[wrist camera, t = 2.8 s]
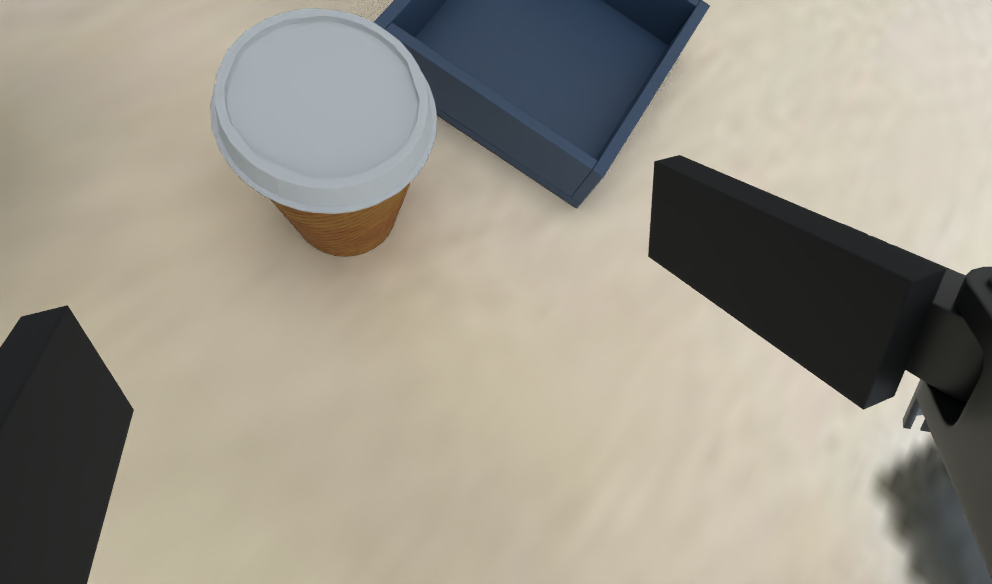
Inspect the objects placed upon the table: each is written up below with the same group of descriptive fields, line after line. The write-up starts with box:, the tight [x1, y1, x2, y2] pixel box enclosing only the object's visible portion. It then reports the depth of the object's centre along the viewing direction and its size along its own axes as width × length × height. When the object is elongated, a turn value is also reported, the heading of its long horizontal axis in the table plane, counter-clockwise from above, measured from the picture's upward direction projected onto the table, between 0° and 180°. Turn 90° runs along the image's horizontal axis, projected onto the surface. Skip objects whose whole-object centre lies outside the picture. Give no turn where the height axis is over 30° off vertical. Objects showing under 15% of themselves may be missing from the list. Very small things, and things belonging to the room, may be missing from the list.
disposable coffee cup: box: [210, 8, 437, 256], centre depth 28 cm, size 10×10×12 cm
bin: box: [374, 0, 710, 208], centre depth 37 cm, size 17×17×5 cm
